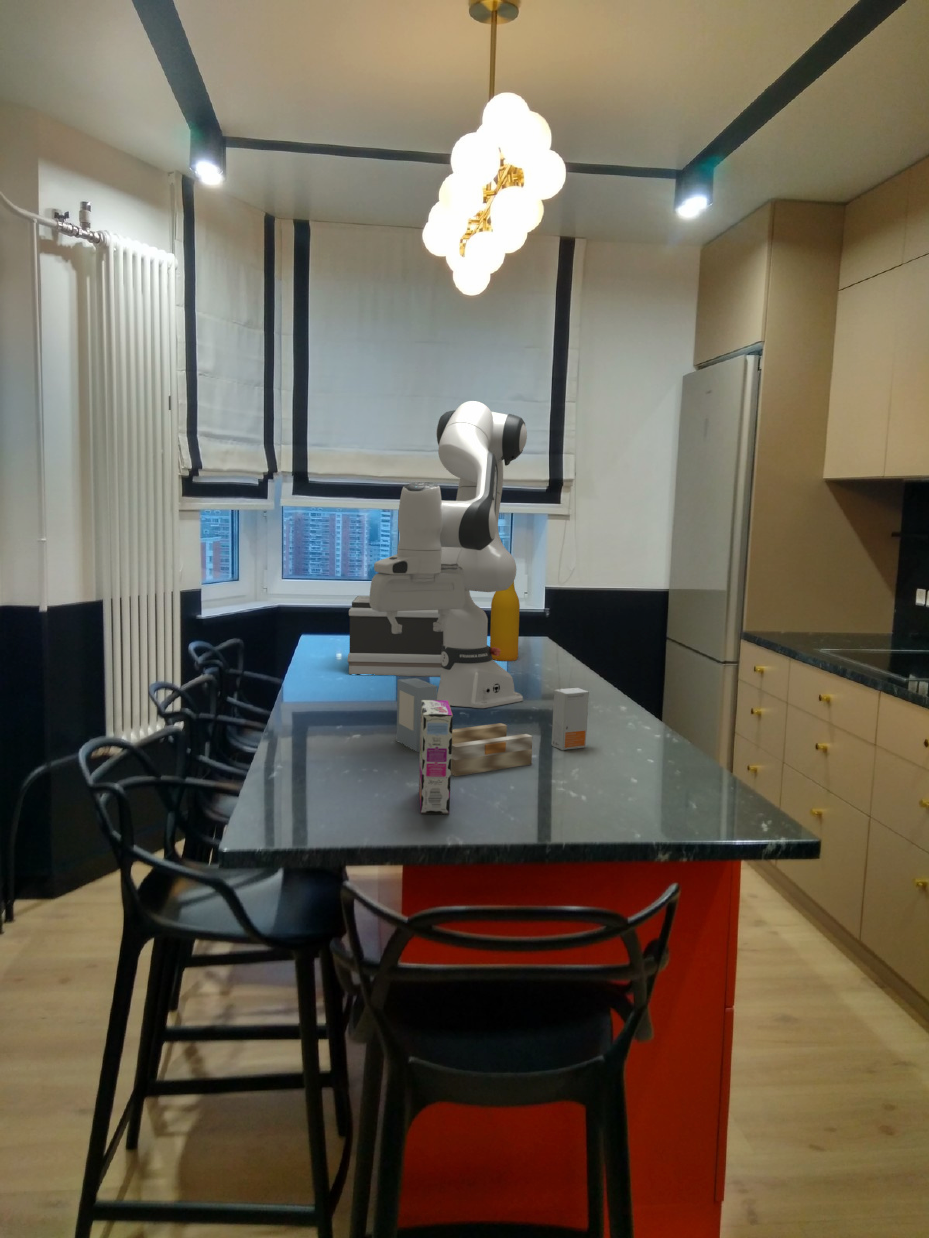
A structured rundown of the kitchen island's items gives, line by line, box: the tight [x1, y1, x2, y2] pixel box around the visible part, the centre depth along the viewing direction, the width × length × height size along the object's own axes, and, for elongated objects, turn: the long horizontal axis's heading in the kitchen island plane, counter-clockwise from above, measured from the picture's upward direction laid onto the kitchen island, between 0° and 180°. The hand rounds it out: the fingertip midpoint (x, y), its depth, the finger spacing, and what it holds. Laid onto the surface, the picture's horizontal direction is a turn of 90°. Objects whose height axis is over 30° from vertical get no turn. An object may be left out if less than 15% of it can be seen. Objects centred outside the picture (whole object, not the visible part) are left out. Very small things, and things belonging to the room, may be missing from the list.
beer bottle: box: [489, 580, 521, 662], centre depth 276 cm, size 9×9×29 cm
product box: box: [396, 677, 438, 753], centre depth 176 cm, size 4×9×13 cm, turn 31°
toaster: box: [347, 595, 443, 678], centre depth 254 cm, size 18×34×21 cm, turn 91°
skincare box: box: [551, 687, 590, 751], centre depth 178 cm, size 6×4×12 cm
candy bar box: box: [418, 700, 454, 815], centre depth 142 cm, size 11×5×16 cm, turn 5°
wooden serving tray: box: [451, 722, 533, 777], centre depth 166 cm, size 17×11×6 cm, turn 120°
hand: (417, 632), depth 174 cm, fingers open, 8 cm apart
